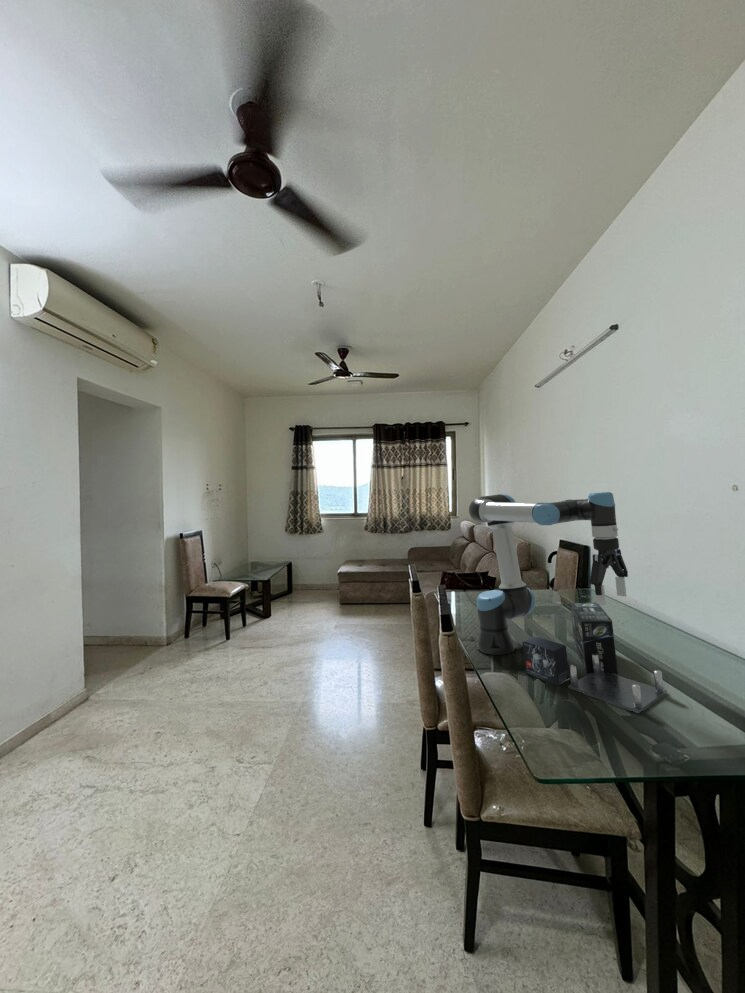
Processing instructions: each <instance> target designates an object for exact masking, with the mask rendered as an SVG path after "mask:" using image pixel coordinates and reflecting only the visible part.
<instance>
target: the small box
mask: <svg viewBox="0 0 745 993" xmlns="http://www.w3.org/2000/svg"><path fill="white" fill-rule="evenodd" d="M522 650H523V656H524V657H523V659H524V664H525V665H524V667H525V668H524V669H525V674H526V675H529V676H531V677H534V678H537V679H538V680H542V681H544V682H547V683H549V684H552V685H554V686H557V687H559V686H561V685H562V684H561V683H562V682H563V681H565V680H566V679H568V678H570V679H571V677H570V669H569V663H568V654H567V653H568V652H567V645H566V644H563V643H559V642H556V641H552V640H550V639H546V638H542V637H538V636H535V635H534V636H531V637H529V638H527V639H523V640H522Z"/></svg>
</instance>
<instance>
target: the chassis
mask: <svg viewBox="0 0 745 993" xmlns="http://www.w3.org/2000/svg"><path fill="white" fill-rule="evenodd" d="M592 661H593V670H594V672H592V673H587V674H586V675H585V676H583V677H581V678H578V672H577V665H575V664H568V669H569V677H570V684H568V689H569V690H571V689H574V690H578V691H581V692H584V693H585V694H587V695H586V696H588V695H589V696H588V697H590V696H591V698H593V697H595V698H594V699H596V698H598V699H597V700H599V699H600V700H599V701H602V702H604V703H608V704H611V705H613V706H615V707H618V708H620V709H624V710H626V711H629V712H631V711H634V712H637V713H640V712H641V711H643V710H644V711H646V710H647V709H648V708H650V707H651V706H652V705H654V704H655V703H656V702H658V701H660V699H662V698H664V697H665V696H667V695H668V690H667V689H664V680H663V673H662V671H661V670H659V669H657V670H653V677H654V686H653V685H650V684H646V683H642V682H640V681H637V680H633V679H629V678H626V677H623V676H621V675H618V674H611V673H607V672H604V671H600V665H599V656H598V654H595V653H594V654H592ZM574 690H573V691H574ZM585 694H584V695H585ZM644 711H643V712H644ZM634 712H633V713H634ZM637 713H636V714H637ZM641 713H642V712H641ZM641 713H640V714H641Z"/></svg>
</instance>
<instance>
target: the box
mask: <svg viewBox="0 0 745 993" xmlns="http://www.w3.org/2000/svg"><path fill="white" fill-rule="evenodd" d="M570 611H571V621H572V631H573V640H574V648H575V651H576V653H577V655H578V657H579V659H580V662H581V663H582V667H583V668H584V670H585V673H587V674H590V673H592V672H594V670H593V661H592V654H594V653H595V654H598V656H599V665H600V671H604V672H607V673H611V674H614V675H618V674H619V672H618V663H617V653H616V652H617V651H616V644H615V636H614V627H613V626H614V625H613V620H612V619H611V618H610V616H609V615H608V614H607V612H606V611H605V610H604V609H603V608H602V606H601V605H599V604H596V602H595V601H594V602H570Z"/></svg>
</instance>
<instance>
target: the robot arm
mask: <svg viewBox="0 0 745 993" xmlns="http://www.w3.org/2000/svg"><path fill="white" fill-rule="evenodd" d="M468 514H469V516H470V517H471V519H472V520H473V521H474V522H477V523H482V524H483V523H486V524H487V527H488V528H489V529H490V530H491V531H492V537H493V542H494V544H493V545H494V548H495V553H496V555H495V556H496V561H497V565H498V571H499V577H500V580H501V583H500V585H499V586H498V589H492V590H487V591H483V592H481V593H479V594H478V596H477V597H476V608H477V615H478V616H477V617H478V627H479V632H478V637H477V643H476V646H477V647H478V648H477V647H476V648H477V650H478V649H479V650H480V651H481V652H480V651H479V650H478V651H479V652H480V653H483V654H486V655H491V656H501V655H502V656H503V655H506V654H507V655H508V654H511V653H513V652H514V651H515V649H516V646H515V642H514V640H513V639H512V636H511V633H510V631H509V625H508V624H509V623H508V621H510V620H513V619H516V618H520V617H524V616H526V615H528V614H531V613H532V611H533V610H534V608H535V607H536V598H535V595H534V593H533V592H532V590H531V589H530V588H529V587H527V584H526V583H525V582H524V581H523V580H522V576H521V570H520V564H519V559H518V553H517V547H516V544H515V538H514V537H515V536H514V532H513V525H514V524H515V522H516V523H528V524H529V523H530V524H538V525H539V526H552V525H557V524H563V523H568V522H575V521H576V522H577V521H590V524H591V534H592V536H591V537H593V539H592V544H593V545H592V546H593V549H594V550H595V551H597V552H598V553H597V554H592V565H591V570H590V579H589V584H590V585H592V586H593V585H594V594H595V601H596V604H599V605H600V606H606V605H607V604H606V603H607V601H606V592H605V585H604V584H603V583H604V579H605V576H606V572H607V569H609V568H610V567H611V569H612V570H613V572H614V574H615V575H616V576H615V578H614V579H615V586H616V596H620V597H625V598H626V597H627V588H626V581H625V580H626V579H625V578H628V577H629V574H628V573H629V572H628V568H627V566H626V562H625V561H624V558H623V555H622V551H621V549H620V542H619V538H618V530H619V528H618V526H617V516H616V503H615V498H614V494H613V493H612V492H611V491H603V492H591V493H589V494H588V498H586V499H585V498H584V499H583V498H582V499H571V498H570V499H565V500H561V501H556V502H555V501H554V502H516V500H515V499H514V498H513V497H512V496H510V495H508V494H503V493H502V494H499V493H498V494H493V495H482V496H478V497H475V498H474V499H473V500H471V503H470V504H469V507H468Z"/></svg>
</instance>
